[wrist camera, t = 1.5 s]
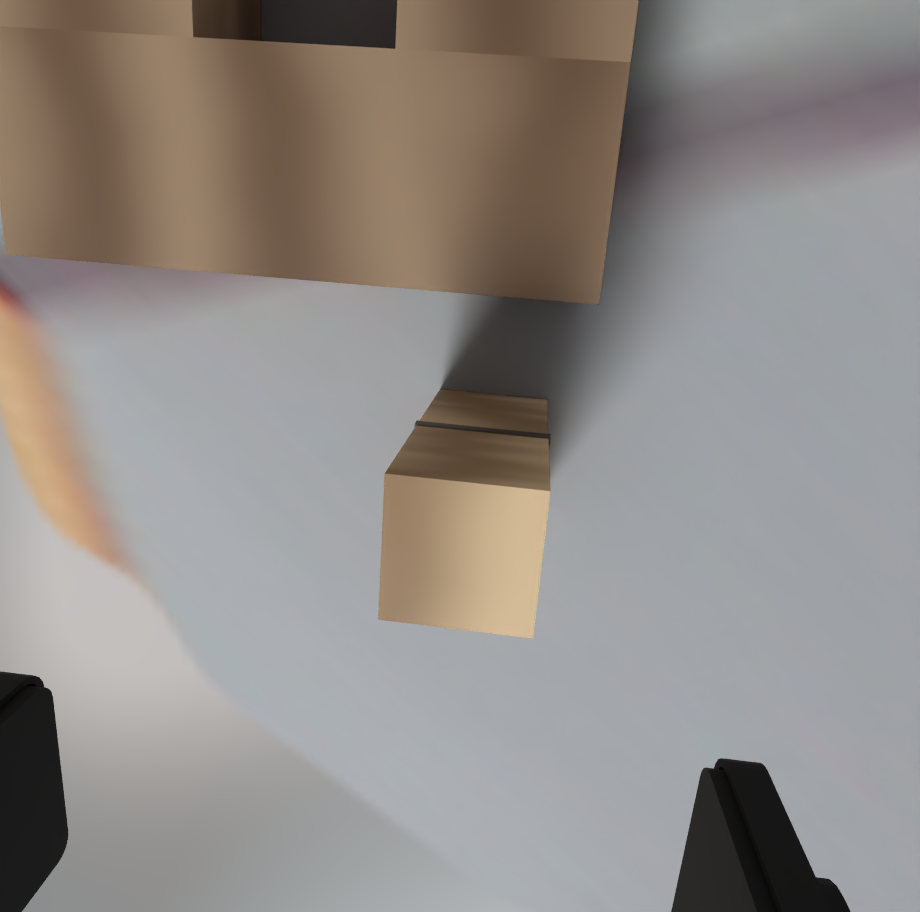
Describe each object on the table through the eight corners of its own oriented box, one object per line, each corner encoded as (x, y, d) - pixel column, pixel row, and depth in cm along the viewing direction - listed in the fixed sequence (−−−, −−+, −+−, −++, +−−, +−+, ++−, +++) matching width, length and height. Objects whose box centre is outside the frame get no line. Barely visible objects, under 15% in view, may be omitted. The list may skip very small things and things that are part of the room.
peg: (548, 398, 26) (552, 489, 17) (537, 501, 28) (534, 640, 18) (438, 387, 27) (383, 471, 17) (432, 490, 28) (376, 620, 19)
